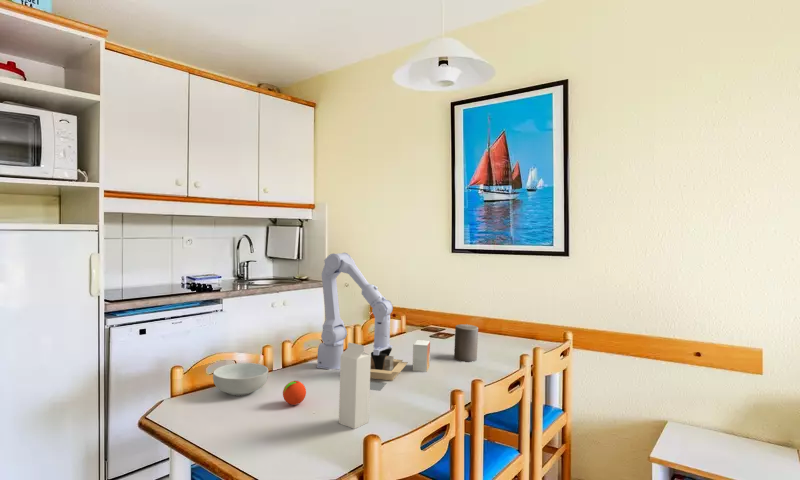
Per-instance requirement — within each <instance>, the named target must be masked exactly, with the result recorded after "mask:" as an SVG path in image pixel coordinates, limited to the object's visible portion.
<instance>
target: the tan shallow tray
mask: <svg viewBox="0 0 800 480" xmlns="http://www.w3.org/2000/svg"><path fill="white" fill-rule="evenodd" d="M407 365H408V362H407V361H404V360H403V359H393V370H392V371H386V370H376V369H370V379H374V380H375V379H376V380H384V381H394V379H395V378H396V377H397V376H398V375H399V374H400V373H401V372H402V370H404V368H405V367H406V366H407Z"/></svg>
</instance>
